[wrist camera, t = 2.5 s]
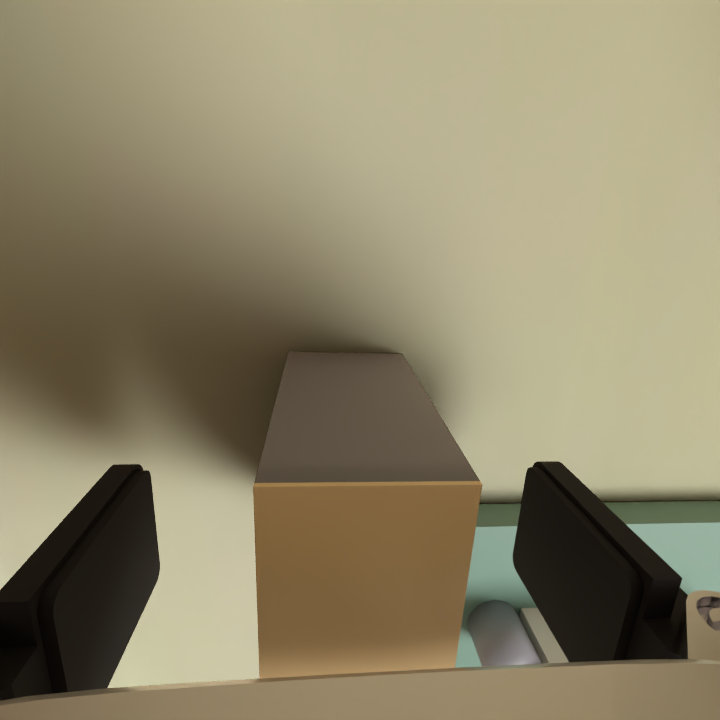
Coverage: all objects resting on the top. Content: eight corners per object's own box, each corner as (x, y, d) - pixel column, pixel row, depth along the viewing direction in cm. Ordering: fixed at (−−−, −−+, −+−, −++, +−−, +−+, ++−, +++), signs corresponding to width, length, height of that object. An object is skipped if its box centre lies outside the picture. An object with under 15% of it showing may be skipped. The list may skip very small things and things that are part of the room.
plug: (288, 351, 13) (253, 486, 6) (402, 353, 13) (482, 484, 7) (289, 505, 15) (261, 742, 8) (390, 504, 15) (445, 730, 8)
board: (425, 504, 15) (462, 605, 11) (968, 497, 17) (1163, 580, 13) (394, 800, 20) (412, 945, 16) (821, 767, 22) (932, 887, 18)
